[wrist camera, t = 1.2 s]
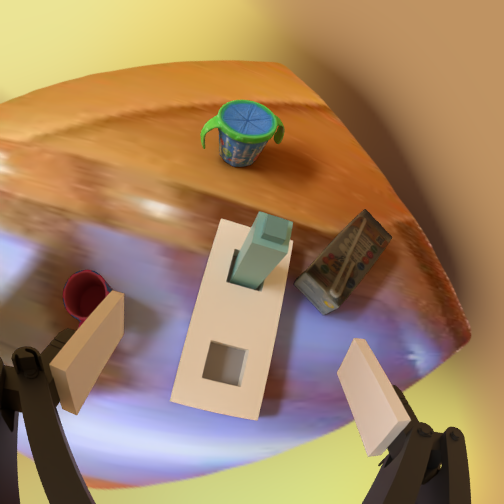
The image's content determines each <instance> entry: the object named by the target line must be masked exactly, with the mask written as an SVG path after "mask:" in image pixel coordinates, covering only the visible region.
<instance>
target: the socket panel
mask: <svg viewBox="0 0 504 504" xmlns="http://www.w3.org/2000/svg"><path fill="white" fill-rule="evenodd" d="M250 229H251V227H247V226H244V225H241V224H238V223H234V222H231V221H228V220H224V219H221V221H220V224H219V227H218V230H217V233H216V236H215V240H214V243H213V246H212V249H211V253H210V256H209V259H208V263H207V266H206V269H205V273H204V276H203V279H202V283H201V286H200V290H199V293H198V297H197V300H196V304H195V307H194V311H193V314H192V318H191V322H190V325H189V329H188V332H187V336H186V340H185V344H184V347H183V351H182V355H181V359H180V363H179V366H178V370H177V374H176V378H175V382H174V386H173V390H172V394H171V398H170V401H171V402H175V403H179V404H182V405H186V406H190V407H194V408H198V409H202V410H206V411H210V412H215V413H220V414H224V415H229V416H234V417H240V418H245V419H251V420H257V421H258V416H259V412H260V408H261V403H262V399H263V394H264V390H265V385H266V381H267V376H268V372H269V367H270V362H271V357H272V352H273V348H274V343H275V338H276V333H277V328H278V323H279V317H280V312H281V307H282V302H283V296H284V291H285V285H286V280H287V274H288V269H289V263H290V257H291V251H292V245H293V241H292V240H290V242H289V248H288V254H287V255H286V256H285V257H284V258H283V259H282V260H281V261H280V263H279V264H278V265H277V266H276V267H275V268H274V269H273V270H272V272H271V273H270V274H269V275H268V276H267V277H266V278H265V279H264V281H263V282H262V283H261V284H260V285H259V286H258V287H257V288H256V289H255V290H253V289H249V288H246V287H242V286H239V285H235V284H232V283H229V282H230V278H231V275H232V271H233V267H234V263H235V260H236V258H237V256H238V254H239V252H240V250H241V247H242V245H243V243H244V241H245V239H246V237H247V235H248V233H249V231H250Z"/></svg>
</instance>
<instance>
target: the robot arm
mask: <svg viewBox="0 0 504 504" xmlns="http://www.w3.org/2000/svg"><path fill="white" fill-rule="evenodd" d="M123 335H124V293H120V292H116V291H113V290H112V291H111V292H110V293H109V294H108V295H107V297H106V298H105V299H104V300H103V301H102V302H101V303H100V304H99V305H98V307H97V308H96V309H95V310H94V311H93V312H92V313H91V315H90V316H89V317H88V318H87V319H86V320H85V321H84V323H83V324H82V325H81V326H80V327H79V328H78V330H77V331H74V330H71V329H69V328H67V329H66V330H64V331H62V332H60V333H59V334H58V335H57V336H56V337H55V338H54V340H53V341H52V342H51V343H50V345H48V346H47V347H46V349H45V350H44V351H43V352H42V353H41V354H40V353H39V351H37V350H36V349H35V348H32V347H21V348H18V349H17V350H15V352H14V353H13V354H12V361H13V365H14V367H10V366H6V365H4V364H3V361H2V359H1V358H0V504H20V498H19V488H18V472H17V432H18V416H19V412H22V413H23V418H24V423H25V427H26V432H27V436H28V440H29V444H30V447H31V451H32V455H33V458H34V461H35V465H36V468H37V471H38V474H39V477H40V479H41V482H42V485H43V487H44V490H45V493H46V495H47V498H48V500H49V503H50V504H96V503H95V502H94V500H93V498H92V496H91V494H90V492H89V490H88V488H87V486H86V484H85V482H84V480H83V477H82V475H81V473H80V471H79V469H78V466H77V464H76V462H75V459H74V457H73V454H72V452H71V449H70V447H69V444H68V441H67V439H66V436H65V433H64V430H63V427H62V424H61V421H60V418H59V415H58V411H57V409H56V406H57V405H58V403H59V401H60V403H61V406H62V409H64V410H66V411H68V412H70V413H73V414H75V415H78V413H79V411H80V409H81V407H82V405H83V403H84V402H85V400H86V398H87V396H88V394H89V393H90V391H91V389H92V387H93V385H94V384H95V382H96V380H97V378H98V377H99V375H100V373H101V371H102V370H103V368H104V366H105V365H106V363H107V361H108V360H109V358H110V356H111V355H112V353H113V351H114V350H115V348H116V346H117V345H118V343H119V341H120V340H121V338H122V336H123ZM337 375H338V377H339V380H340V382H341V385H342V388H343V390H344V393H345V395H346V398H347V401H348V403H349V406H350V409H351V411H352V414H353V417H354V419H355V422H356V425H357V427H358V430H359V433H360V436H361V438H362V441H363V444H364V447H365V450H366V452H367V455H368V457H370V456H378V455H381V454H382V453H383V452H384V451H385V450H386V449H387V448H388V451H389V454H388V455H387V456H386V457H385V458H384V459H383V460H382V461H381V462H380V463H379V465H378V466H380V465H381V464H383V465H382V466H381V469H380V471H379V473H378V475H377V477H376V479H375V481H374V482H373V485H372V486H371V488H370V490H369V492H368V494H367V495H366V497H365V499H364V501H363V502H362V504H471V493H470V478H469V468H468V459H467V452H466V445H465V439H464V435H463V433H462V432H461V431H460V430H459V429H458V428H455V427H449V428H447V429H446V431H445V432H444V433H438V432H434V431H433V429H432V428H431V427H430V426H429V425H427V424H426V423H422V422H419V421H418V419H417V418H416V416H415V414H414V412H413V410H412V409H411V407H410V405H408V402H407V400H406V399H405V396H404V395H403V393H402V391H401V390H400V389H399V388H398V387H397V386H395V385H391V383H390V381H389V380H388V378H387V376H386V374H385V373H384V371H383V369H382V367H381V366H380V364H379V362H378V361H377V359H376V357H375V355H374V354H373V352H372V350H371V349H370V347H369V345H368V344H367V342H366V340H365V339H358V338H354V339H353V341H352V343H351V346H350V348H349V350H348V352H347V354H346V356H345V358H344V360H343V362H342V364H341V366H340V368H339V370H338V372H337ZM441 464H442V467H441V468H440V465H441Z"/></svg>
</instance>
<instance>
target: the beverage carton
mask: <svg viewBox="0 0 504 504" xmlns="http://www.w3.org/2000/svg"><path fill="white" fill-rule="evenodd" d="M391 239H392V236H391V235H390V234H389V233H388V232H387V231H386V230H385V229H384V228H383V227H382V226H381V224H380V223H379V222H378V221H376V220H375V219H374V218H373V217H372V215H371V214H370V213H369V212H368V211H367V210H366V209H364V210H363V211H362V212H361V213H360V214H359V215H357V216H356V217H355V218H354V219H353V220H352V221H351V222H350V223H349V224H348V225H347V226H346V227H345V228H344V229H343V230H342V231H341V232H340V233H339V234H338V235H337V236H336V238H335V239H334V240H333V241H332V242H331V243H330V244H329V245H328V246H327V247H326V248H325V249H324V250H323V252H322V253H321V254H320V255H319V256H318V257H317V258H316V259H315V261H314V262H313V263H312V264H311V265H310V266H309V267H308V269H307V270H306V271H304V272H303V273H302V274H301V275H300V276H299V277H298V278H297V279H296V281H295V283H294V285H295V286H296V287H297V288H298V289H299V290H300V291H301V292H302V293H303V294H304V295H305V296H306V297H307V299H308V300H309V301H310V302H311V303H312V304H313V305H314V306H315V307H316V308H317V309H318V310H319V311H320V312H321V313H322V314H323V315H325V314H328V313H330V312H332V311H334V310H336V309H338V308H339V307H340V306H341V304H342V303H343V302H344V301H345V300H346V299H347V298H348V296H349V295H350V294H351V293H352V291H353V290H354V289H355V288H356V286H357V285H358V284H359V283H360V281H361V280H362V279H363V278H364V276H365V275H366V274H367V272H368V271H369V270H370V269H371V267H372V266H373V265H374V263H375V262H376V261H377V259H378V258H379V256H380V255H381V254H382V252H383V251H384V249H385V248H386V246H387V245H388V243H389V242H390V240H391Z"/></svg>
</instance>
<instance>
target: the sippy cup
mask: <svg viewBox="0 0 504 504" xmlns="http://www.w3.org/2000/svg"><path fill="white" fill-rule="evenodd" d="M277 126H279V127H278V129H277ZM213 128H218V130H219V152H220V156H221V157H222V158H223V160H224V161H225V162H227V163H229V164H230V165H232V166H234V167H236V166H237V167H243V166H248V165H251V164H252V163H253V162H254V161H255V160H256V159H257V157H258V156H259V154H260V153H261V151H262V149H263V148H264V146H265V145H266V143H267V142H268V140H270V139H271V138H272V136H273V135H274V133H275V131H276V129H277V132H276V133H275V135H274V141H275V142H276V143H277V144H279V143H280V142H281V141H282V139H283V136H284V126H283V124H282V122H281V120H280V119H279V118H278V117H277V116H276V115H274V114H273V113H272V111H270V110H269V109H268V108H267V107H265V106H264V105H262V104H259V103H257V102H254V101H249V100H234V101H231V102H228V103H226V104H224V105H223V106H222V107H221V108H220V110H219V113H218V115H217V116H215V117H213V118H212V119H210V120H209V121H208V122H207V123H206V124H205V126H204V127H203V129H202V131H201V135H200V136H201V142H202V146H203V149H205V135H206V133H207V132H209V131H210V130H212V129H213Z"/></svg>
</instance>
